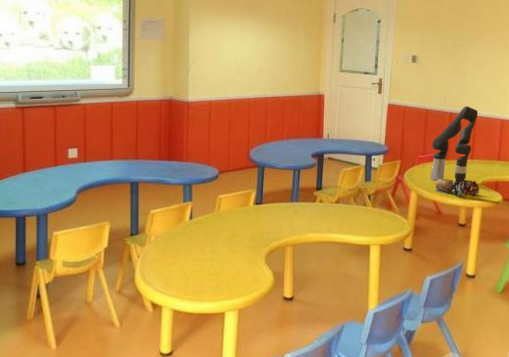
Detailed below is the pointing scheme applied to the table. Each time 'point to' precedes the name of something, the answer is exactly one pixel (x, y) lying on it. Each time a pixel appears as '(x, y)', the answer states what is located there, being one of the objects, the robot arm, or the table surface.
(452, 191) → the grey rectangular panel
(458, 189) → the rubber ball
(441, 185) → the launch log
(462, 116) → the robot arm
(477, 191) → the toy fire truck
